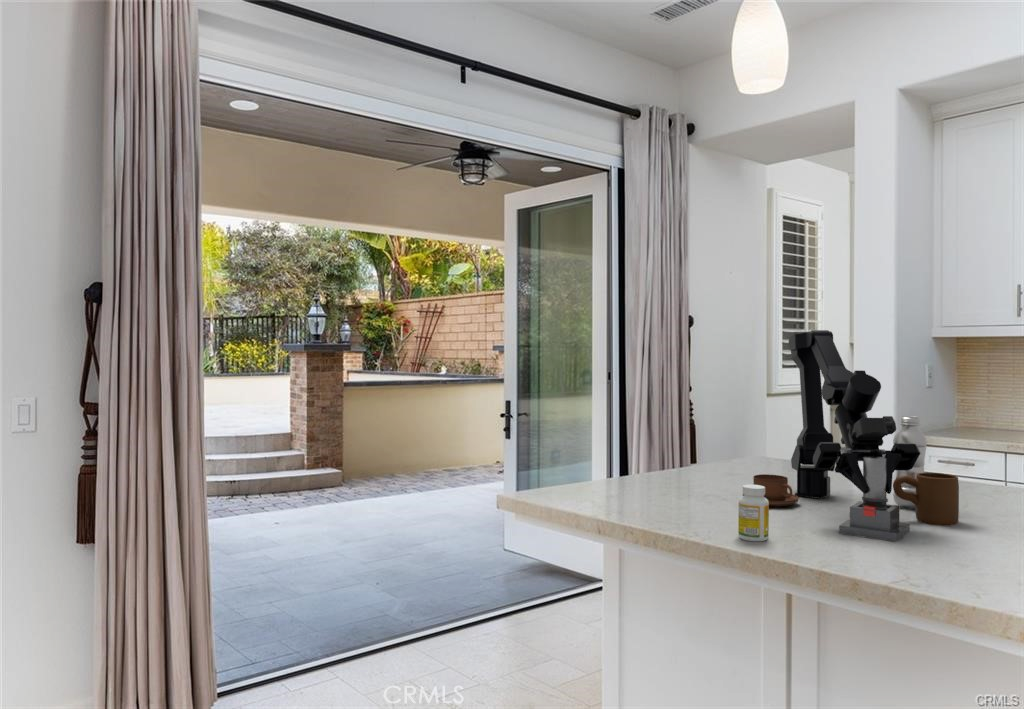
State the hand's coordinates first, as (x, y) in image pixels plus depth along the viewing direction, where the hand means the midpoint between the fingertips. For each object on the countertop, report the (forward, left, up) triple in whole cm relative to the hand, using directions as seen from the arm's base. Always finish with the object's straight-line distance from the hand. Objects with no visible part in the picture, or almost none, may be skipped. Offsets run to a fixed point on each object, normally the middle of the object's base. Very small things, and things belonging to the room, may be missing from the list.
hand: (877, 492), depth 141 cm
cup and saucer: (-26, +15, -8) cm, 31 cm away
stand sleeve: (-1, +1, -8) cm, 8 cm away
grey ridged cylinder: (-1, +1, -5) cm, 6 cm away
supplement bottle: (-17, -18, -8) cm, 26 cm away
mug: (+4, +18, -8) cm, 20 cm away
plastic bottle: (-1, +30, -8) cm, 31 cm away
